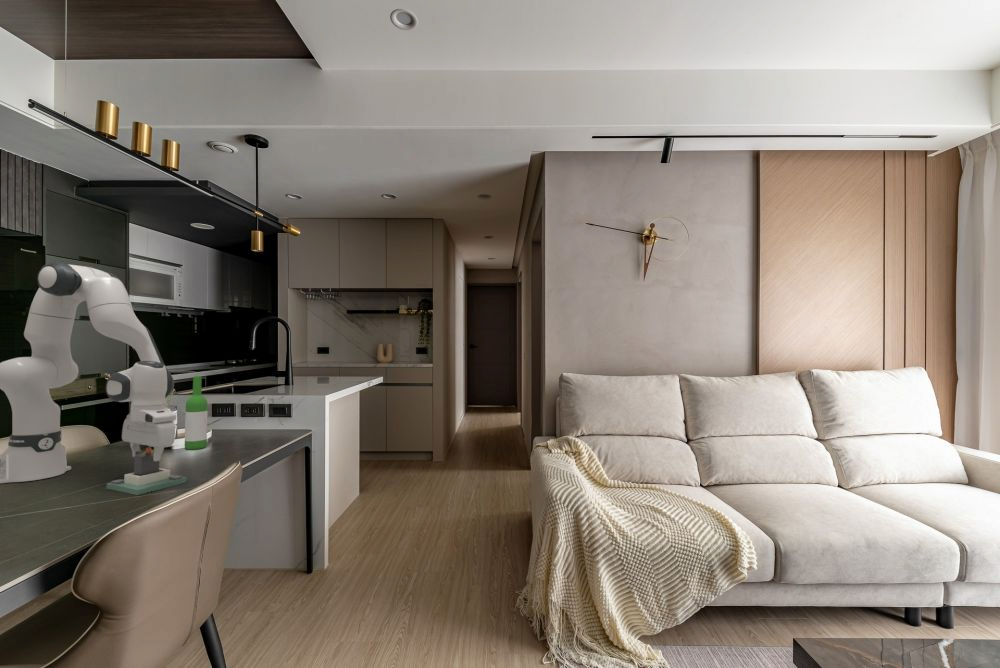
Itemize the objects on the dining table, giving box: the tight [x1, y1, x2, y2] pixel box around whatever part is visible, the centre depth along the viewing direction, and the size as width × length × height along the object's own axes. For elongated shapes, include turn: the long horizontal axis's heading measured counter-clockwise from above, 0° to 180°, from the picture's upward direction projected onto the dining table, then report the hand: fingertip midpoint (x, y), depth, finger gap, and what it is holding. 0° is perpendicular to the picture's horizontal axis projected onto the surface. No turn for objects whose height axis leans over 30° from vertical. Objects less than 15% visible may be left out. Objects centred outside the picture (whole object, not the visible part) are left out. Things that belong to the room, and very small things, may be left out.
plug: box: [133, 446, 160, 476], centre depth 144 cm, size 4×6×10 cm, turn 158°
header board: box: [106, 467, 187, 496], centre depth 144 cm, size 15×14×4 cm
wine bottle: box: [184, 375, 208, 451], centre depth 195 cm, size 8×8×30 cm
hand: (146, 458), depth 144 cm, fingers open, 8 cm apart
